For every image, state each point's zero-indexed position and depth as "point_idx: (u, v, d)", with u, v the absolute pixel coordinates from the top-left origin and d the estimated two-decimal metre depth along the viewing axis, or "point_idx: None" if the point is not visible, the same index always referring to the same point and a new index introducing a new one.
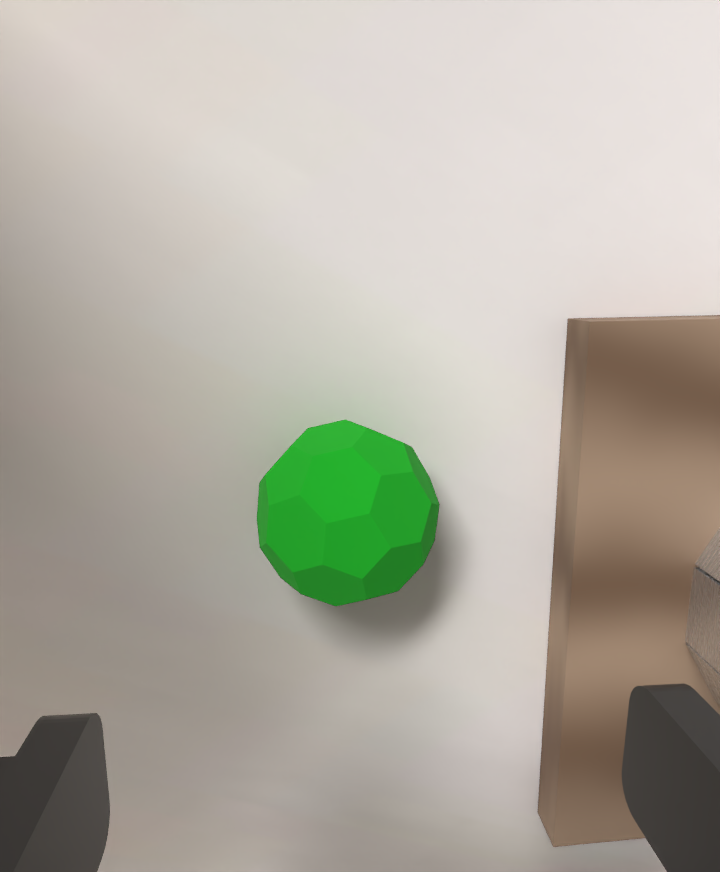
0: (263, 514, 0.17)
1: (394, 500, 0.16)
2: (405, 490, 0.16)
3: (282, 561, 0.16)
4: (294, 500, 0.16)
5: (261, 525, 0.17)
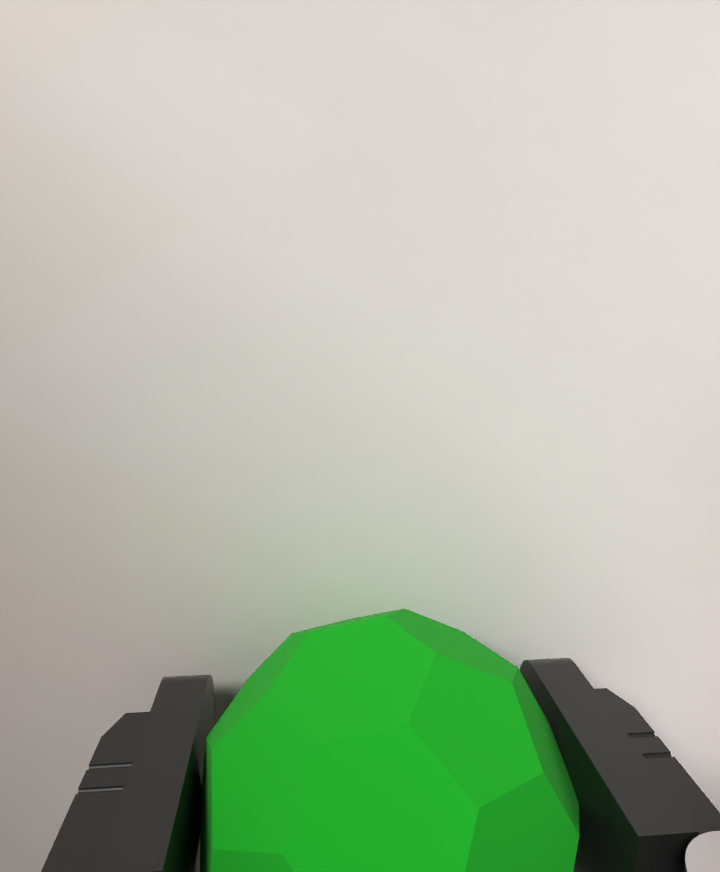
0: (205, 836, 0.08)
1: (507, 862, 0.07)
2: (529, 825, 0.07)
3: None
4: (267, 861, 0.07)
5: (203, 848, 0.08)
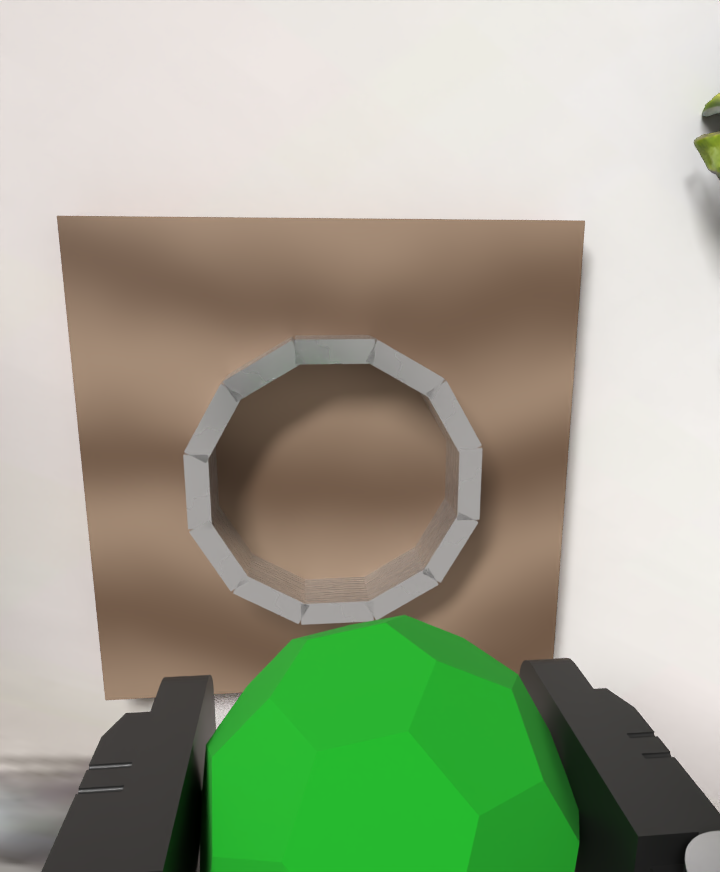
0: (206, 843, 0.08)
1: (508, 870, 0.07)
2: (529, 833, 0.07)
3: None
4: (269, 868, 0.07)
5: (203, 855, 0.08)
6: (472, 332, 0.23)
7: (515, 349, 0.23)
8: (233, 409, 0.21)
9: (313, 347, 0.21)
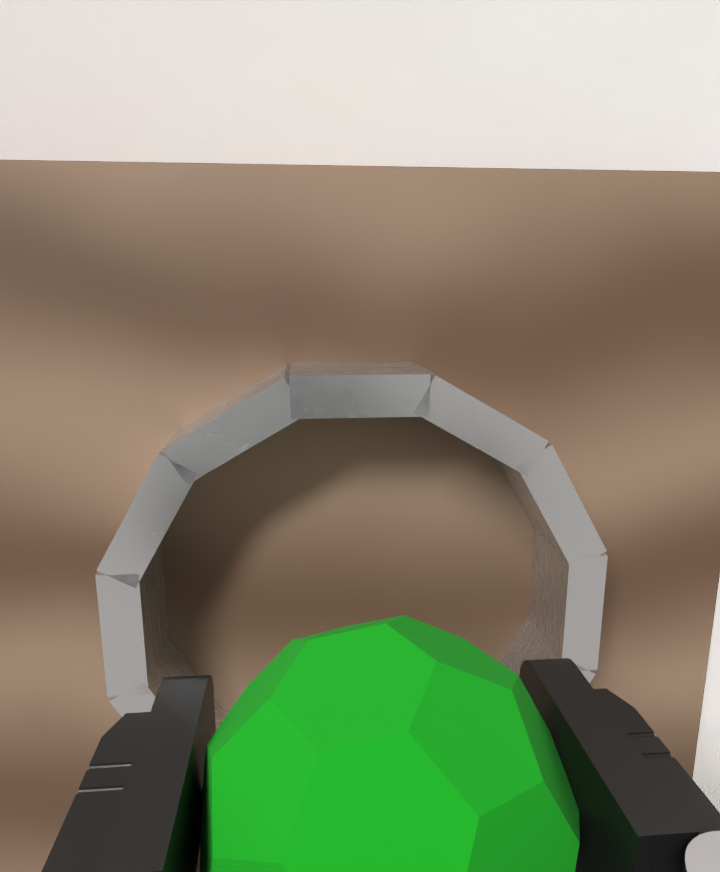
0: (206, 843, 0.08)
1: (508, 871, 0.07)
2: (529, 834, 0.07)
3: None
4: (268, 868, 0.07)
5: (203, 855, 0.08)
6: (581, 357, 0.14)
7: (649, 385, 0.14)
8: (182, 497, 0.12)
9: (321, 389, 0.12)
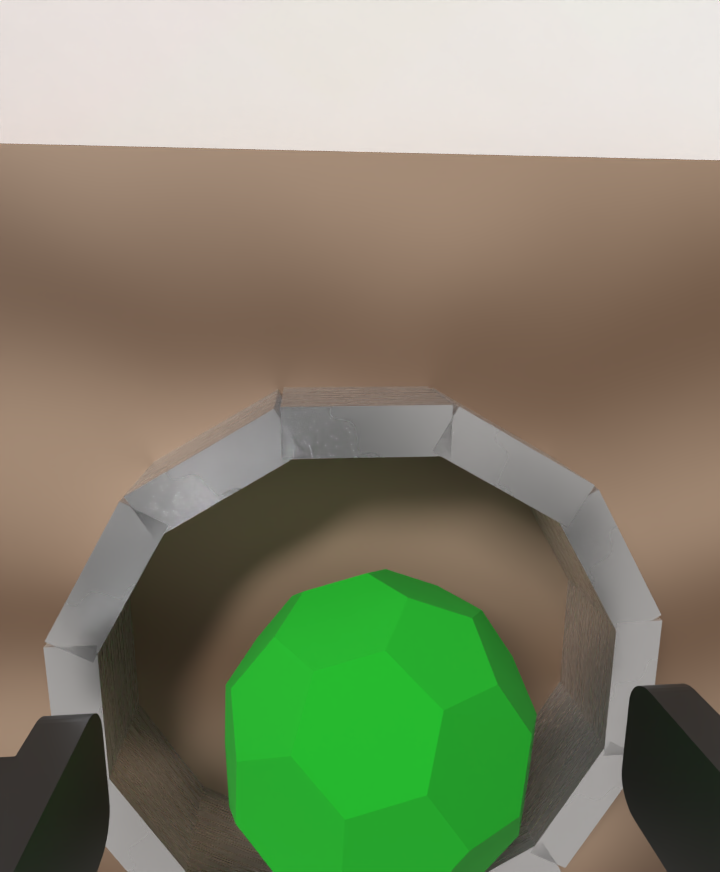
0: (231, 758, 0.09)
1: (470, 752, 0.08)
2: (487, 725, 0.09)
3: (266, 861, 0.09)
4: (280, 763, 0.08)
5: (229, 771, 0.10)
6: (627, 381, 0.12)
7: (705, 412, 0.12)
8: (148, 554, 0.10)
9: (320, 423, 0.10)
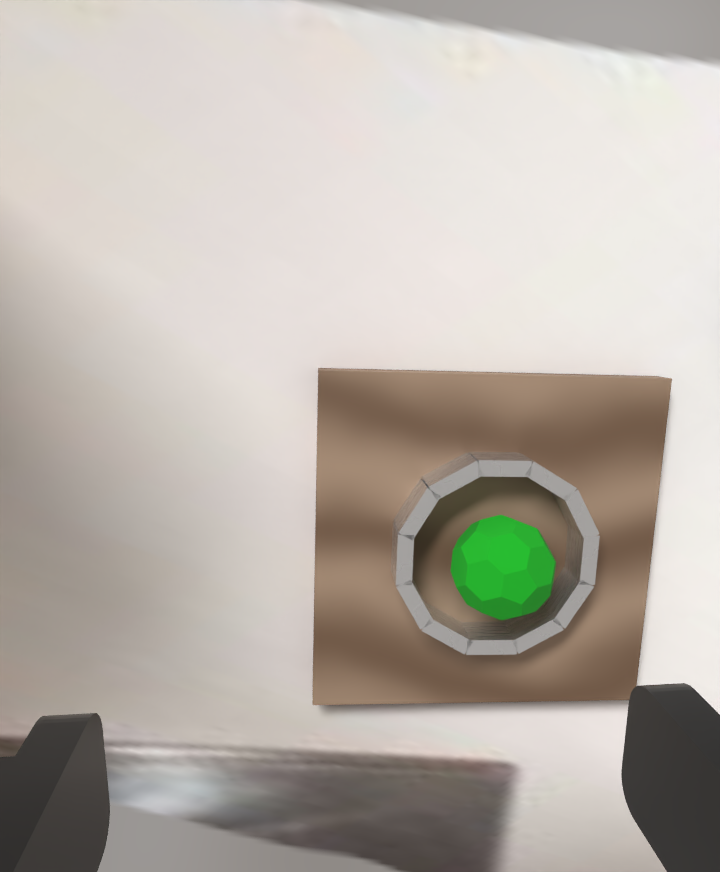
0: (460, 569, 0.30)
1: (537, 561, 0.29)
2: (542, 555, 0.30)
3: (475, 595, 0.30)
4: (483, 562, 0.29)
5: (457, 575, 0.31)
6: (590, 452, 0.33)
7: (619, 464, 0.33)
8: (434, 505, 0.31)
9: (490, 465, 0.31)
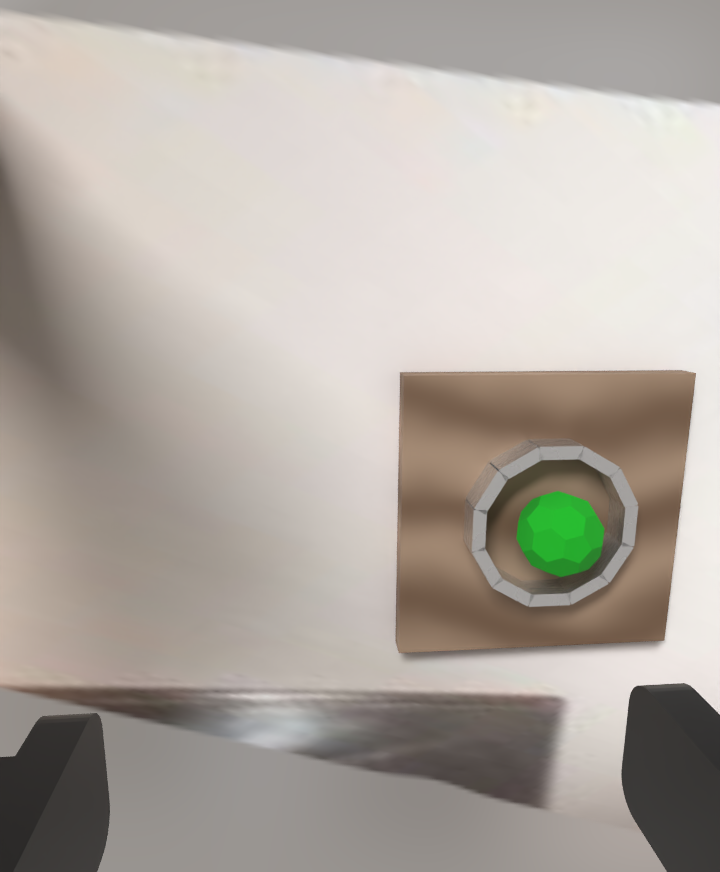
0: (526, 536, 0.37)
1: (591, 528, 0.36)
2: (594, 523, 0.36)
3: (540, 557, 0.36)
4: (547, 530, 0.36)
5: (524, 541, 0.37)
6: (628, 436, 0.40)
7: (652, 445, 0.40)
8: (503, 485, 0.37)
9: (549, 451, 0.37)
